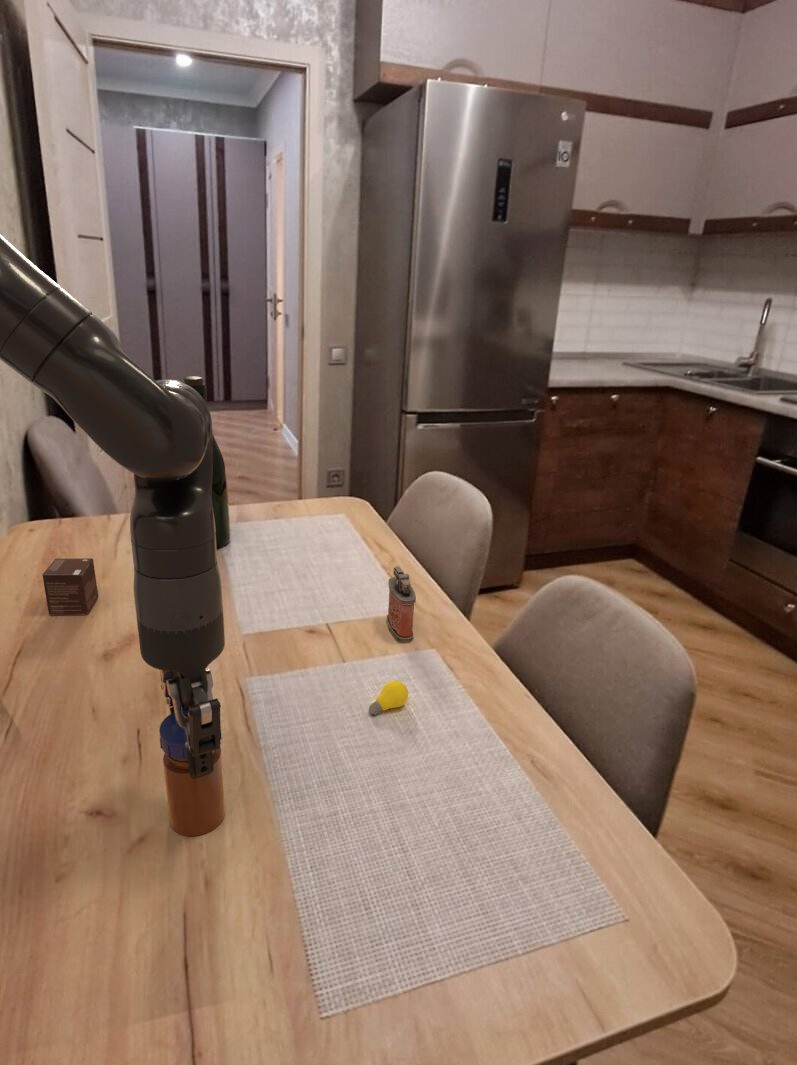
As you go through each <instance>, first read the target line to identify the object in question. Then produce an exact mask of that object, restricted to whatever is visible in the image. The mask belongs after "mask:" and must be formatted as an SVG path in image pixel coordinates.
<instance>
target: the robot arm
mask: <svg viewBox="0 0 797 1065" xmlns="http://www.w3.org/2000/svg"><path fill="white" fill-rule="evenodd" d="M0 361H1V362H2V363H4V364H6V365H7V366H8V367H9V368H11V369H12V370H13V371H14V372H16V373H17V374H19V375H20V376H22V377H23V378H24V379H25V380H27V382H29V383H32V385H33V386H34V387H36V388H37V389H39V390H40V391H41V392H43V393H45V394H47V395H48V396H49V397H51V398H52V399H53V400H54V401H55V402H56V404H58V405H59V406H60V407H61V409H63V411H64V412H65V413H66V414H67V415H68V417H69V418H70V419H71V420H72V421H73V422H74V423H75V424H76V425H77V426H78V427H79V428H80V429H81V430H82V431H83V433H85V434H86V435H87V436H88V437H89V438H90V439H91V441H92V442H94V444H95V445H96V446H98V448H100V450H102V451H103V452H104V453H105V454H106V455H107V456H109V458H111V460H113V461H114V462H116V463H117V464H118V465H119V466H121V467H122V468H124V469H125V470H127V471H129V472H130V473H132V474H133V482H134V499H133V502H132V507H131V510H130V516H129V533H130V541H131V542H130V544H131V551H132V552H131V553H132V562H133V597H134V606H135V617H136V625H137V632H138V633H137V634H138V643H139V651H140V656H141V658H142V660H143V661H144V662H145V664H147V665H148V666H150V667H152V668H153V669H156V670H159V675H160V681H161V684H160V688H161V690H162V692H163V695H164V697H165V698H166V699H165V703H166V705H167V707H168V708H169V715H170V714H172V713H173V712H175V718H176V722H177V724H178V725H179V726H180V727H182V728H183V730H184V736H185V741H186V742H185V746H186V748H187V756H188V767H189V773H190V776H191V778H193V779H196V778H199V777H202V776H205V775H208V774H211V773H212V772H213V770H214V765H213V751H214V750H217V749H220V748H221V744H222V742H221V740H220V721H221V708H222V706H221V705H222V704H221V702H220V701H219V699H218V698H214V696H213V691H212V689H213V687H214V682H213V676H212V672H211V669H210V668H208V666H209V665H210V664H211V663H213V662H214V661H215V660H216V659H217V658H218V657H220V655H221V654H222V653H223V651H224V649H225V645H226V637H225V621H224V620H225V619H224V618H225V617H224V603H223V587H222V577H221V572H220V568H219V562H218V550H217V549H218V548H217V547H216V529H215V521H214V514H213V507H212V469H213V435H214V433H213V432H214V431H213V430H214V429H213V421H212V420H213V418H212V415H211V411H210V408H209V406H208V403H207V404H206V402H205V401H204V399H203V398H202V397H201V395H200V394H199V393H198V392H197V391H196V390H194V389H193V388H192V387H190V386H189V385H187V384H185V383H184V381H183V382H182V381H180V380H175V379H169V378H165V379H163V378H162V379H157V380H155V379H154V378H153V377H152V376H151V375H150V374H148V373H147V372H146V371H145V370H144V369H143V368H142V367H141V366H139V365H138V364H137V363H136V362H135V361H134V360H133V359H131V357H129V356H128V354H126V353H125V352H124V351H123V349H122V346H121V342H120V340H119V338H118V337H117V335H116V334H115V333H114V332H113V330H112V329H110V327H109V326H107V325H106V323H105V322H103V321H102V320H101V319H100V318H99V317H98V316H96V314H93V312H92V311H91V310H89V309H88V308H87V307H86V306H84V305H83V303H81V302H80V301H79V300H77V299H76V298H75V297H74V296H73V295H72V294H70V293H69V292H68V291H67V290H66V289H64V288H63V287H62V286H60V285H59V284H58V283H57V282H55V281H54V280H53V279H52V278H51V277H50V276H49V275H47V274H46V273H45V272H44V271H42V270H41V269H40V268H39V267H38V266H37V265H36V264H34V263H33V262H32V261H31V260H30V259H29V258H28V257H26V256H25V255H24V254H23V253H21V251H20V250H18V248H16V247H15V246H14V245H13V244H12V243H11V242H9V241H8V240H7V239H6V238H5V237H4V236H3V235H2V234H1V233H0ZM182 710H189V711H188V715H183V712H182Z"/></svg>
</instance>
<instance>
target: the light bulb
mask: <svg viewBox="0 0 797 1065" xmlns="http://www.w3.org/2000/svg"><path fill="white" fill-rule="evenodd" d="M408 698H409V690H408V688H407V686H406V684H404V683H403V682H402V681H400V680H390V681H388V682H386V683H385V684H383V686H382V689H381V691H380V693H379V694H378V696H377V697H376V698H375V701H374V702H372V704H370V705H369V706H368V713H369V714H370V715H375V716H376V715H377V714H378V713H380V712H382V711H387V710H389V709H396V708H400V707H402V706H404V705H405V704H406V703H407V700H408Z"/></svg>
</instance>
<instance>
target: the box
mask: <svg viewBox="0 0 797 1065" xmlns="http://www.w3.org/2000/svg"><path fill="white" fill-rule="evenodd" d="M42 580H43V587H44V588H43V589H44V592H45V593H44V594H45V599H46V605H47V613H48V615H49V616H65V615H66V616H72V615H73V616H77V615H78V616H79V615H80V616H87V615H88V614H90V611H91V610H92V608H93V606H94V604H96V602H97V600H98V598H99V593H98V585H97V578H96V570H95V563H94V558H90V557H89V558H87V557H85V558H54V560H53V561H52V562H51V563H50V565H49V566H48V567H47V568H46V570H44V572H43V573H42Z"/></svg>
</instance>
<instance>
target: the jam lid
mask: <svg viewBox="0 0 797 1065" xmlns="http://www.w3.org/2000/svg"><path fill="white" fill-rule="evenodd" d="M188 711H189V710H182V712H183V715H188ZM158 729H159V730H158V731H159V745H160V749H162V752H163V754H167V755H168V756H170V757H172V758H176V759H188V756H187V748H186V746H185V742H186V741H185V736H184V730H183V728H182V727H180V726H179V725H178V724H177V722H176V718H175V712H173V713H172V714H170V713H169V715H167V716H166V717H165V718H164V719H163V720H162V721H161V723H160V724H159V728H158ZM222 735H223V734H222V723H221V720H220V741H222V740H223V738H222Z"/></svg>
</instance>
